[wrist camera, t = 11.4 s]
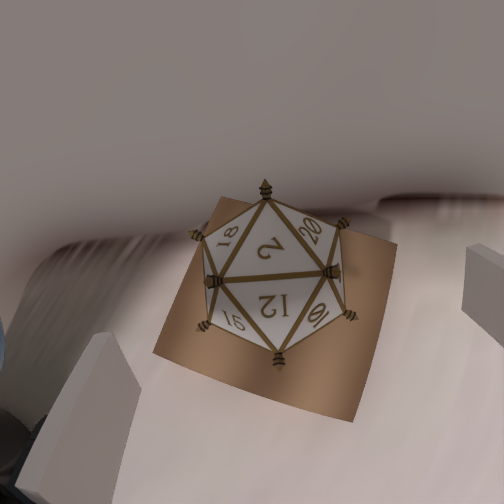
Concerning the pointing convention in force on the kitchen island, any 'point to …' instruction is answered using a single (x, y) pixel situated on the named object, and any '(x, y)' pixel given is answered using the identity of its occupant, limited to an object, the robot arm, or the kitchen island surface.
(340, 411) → the pedestal
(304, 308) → the game die
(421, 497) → the kitchen island surface
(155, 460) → the kitchen island surface
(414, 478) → the kitchen island surface
